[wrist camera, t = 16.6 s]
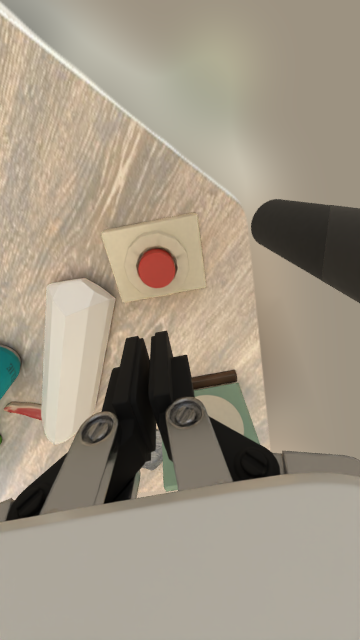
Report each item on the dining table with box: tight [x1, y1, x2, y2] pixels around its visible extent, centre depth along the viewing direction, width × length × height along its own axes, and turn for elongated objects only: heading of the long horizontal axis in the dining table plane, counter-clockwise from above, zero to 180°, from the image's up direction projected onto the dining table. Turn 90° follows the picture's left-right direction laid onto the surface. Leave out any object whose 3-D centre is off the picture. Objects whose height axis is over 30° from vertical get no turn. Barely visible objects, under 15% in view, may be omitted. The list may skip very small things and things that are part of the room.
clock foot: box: [192, 370, 237, 389], centre depth 38 cm, size 12×2×1 cm, turn 100°
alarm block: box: [101, 212, 207, 303], centre depth 27 cm, size 10×8×4 cm
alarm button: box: [138, 249, 175, 288], centre depth 24 cm, size 4×4×2 cm
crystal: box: [41, 278, 116, 445], centre depth 32 cm, size 7×7×24 cm
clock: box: [162, 383, 260, 491], centre depth 29 cm, size 12×17×6 cm
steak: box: [4, 402, 42, 420], centre depth 38 cm, size 10×1×3 cm
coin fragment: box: [142, 431, 163, 470], centre depth 45 cm, size 13×5×1 cm, turn 160°
